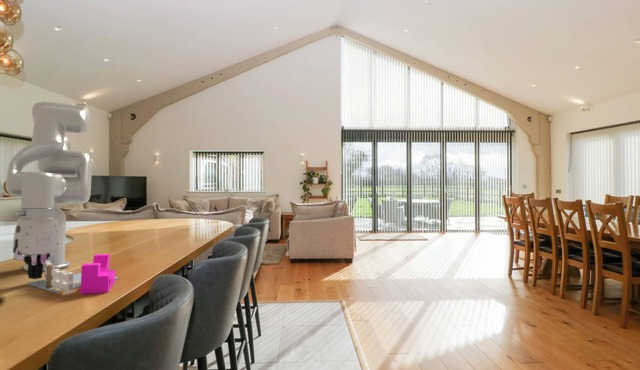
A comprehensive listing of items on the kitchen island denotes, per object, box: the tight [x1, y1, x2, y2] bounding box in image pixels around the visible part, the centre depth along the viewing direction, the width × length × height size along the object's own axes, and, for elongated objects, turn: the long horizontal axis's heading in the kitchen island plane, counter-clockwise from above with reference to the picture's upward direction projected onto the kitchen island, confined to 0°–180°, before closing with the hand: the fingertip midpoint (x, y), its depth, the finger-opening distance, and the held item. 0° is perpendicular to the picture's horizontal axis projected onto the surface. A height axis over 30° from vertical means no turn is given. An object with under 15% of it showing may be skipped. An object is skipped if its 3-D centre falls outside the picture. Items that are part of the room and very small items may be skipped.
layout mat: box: [25, 272, 120, 294], centre depth 105 cm, size 16×18×1 cm
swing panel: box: [44, 261, 52, 279], centre depth 102 cm, size 10×1×5 cm, turn 41°
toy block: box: [79, 253, 116, 295], centre depth 100 cm, size 15×6×8 cm, turn 21°
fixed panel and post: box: [45, 265, 74, 294], centre depth 95 cm, size 11×2×6 cm, turn 61°
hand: (35, 277), depth 101 cm, fingers closed
